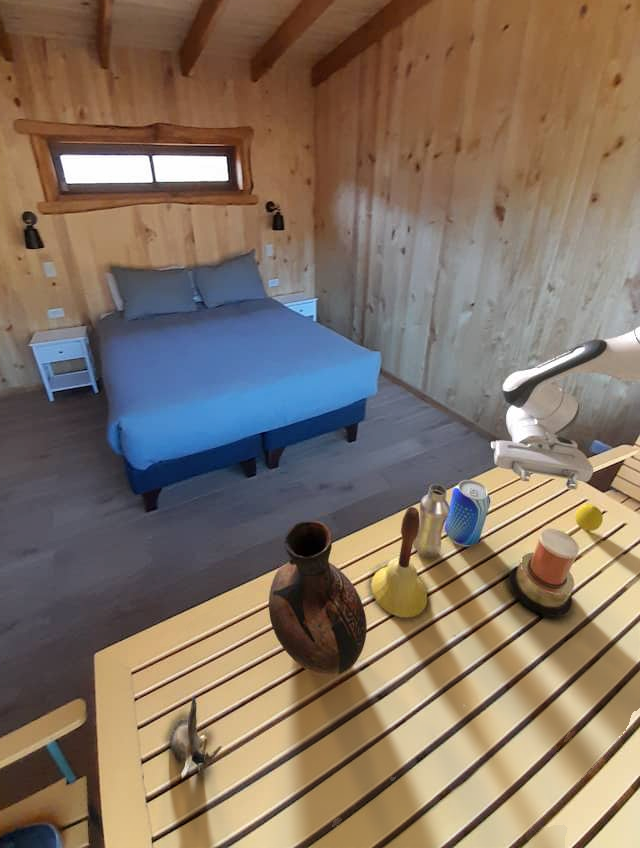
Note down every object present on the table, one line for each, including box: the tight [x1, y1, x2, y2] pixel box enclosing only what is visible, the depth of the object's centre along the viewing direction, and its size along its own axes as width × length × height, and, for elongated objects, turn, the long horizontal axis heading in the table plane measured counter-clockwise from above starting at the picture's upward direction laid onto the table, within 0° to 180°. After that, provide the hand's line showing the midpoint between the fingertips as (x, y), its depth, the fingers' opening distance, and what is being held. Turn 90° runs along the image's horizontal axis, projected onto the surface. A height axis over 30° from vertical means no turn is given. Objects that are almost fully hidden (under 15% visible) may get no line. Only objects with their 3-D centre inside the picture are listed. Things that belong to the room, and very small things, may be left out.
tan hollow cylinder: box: [507, 552, 575, 620], centre depth 88 cm, size 12×12×8 cm
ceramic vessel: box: [268, 520, 368, 676], centre depth 75 cm, size 21×18×30 cm
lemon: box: [574, 503, 604, 532], centre depth 103 cm, size 6×6×8 cm
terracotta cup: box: [530, 528, 580, 585], centre depth 85 cm, size 7×7×9 cm
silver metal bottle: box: [412, 483, 450, 558], centre depth 96 cm, size 6×7×20 cm
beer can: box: [444, 479, 491, 547], centre depth 101 cm, size 8×8×16 cm
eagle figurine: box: [169, 695, 222, 779], centre depth 66 cm, size 8×7×9 cm
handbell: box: [370, 506, 428, 618], centre depth 85 cm, size 12×12×25 cm
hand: (549, 483), depth 91 cm, fingers open, 8 cm apart
